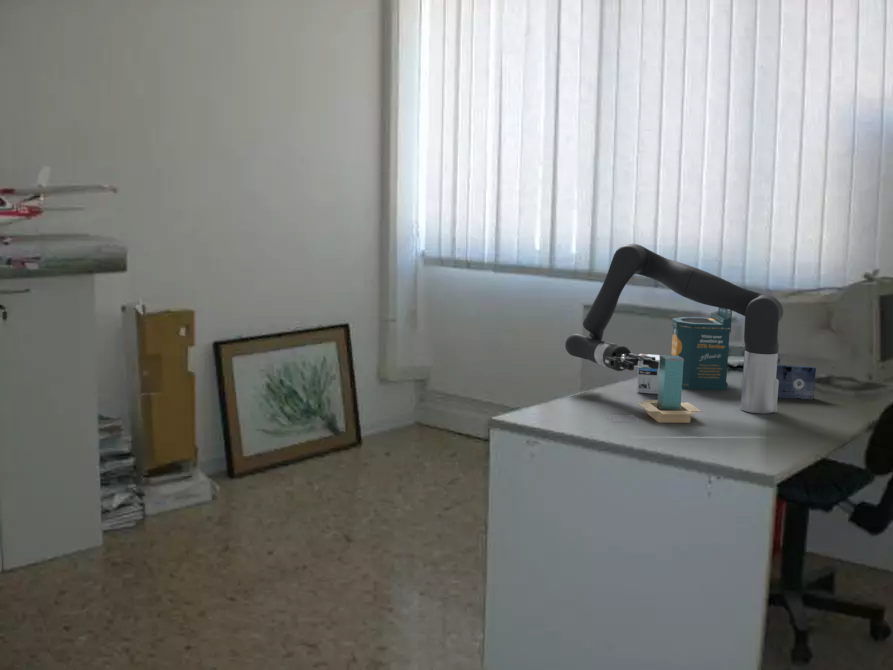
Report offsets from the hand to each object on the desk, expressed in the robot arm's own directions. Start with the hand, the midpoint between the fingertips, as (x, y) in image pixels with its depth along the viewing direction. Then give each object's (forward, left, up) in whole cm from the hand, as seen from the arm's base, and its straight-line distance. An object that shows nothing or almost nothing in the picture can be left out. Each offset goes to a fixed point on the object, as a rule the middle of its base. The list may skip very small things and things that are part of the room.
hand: (645, 366), depth 291 cm
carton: (-4, +11, -13) cm, 17 cm away
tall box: (-4, +11, -12) cm, 17 cm away
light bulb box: (-10, -28, -13) cm, 33 cm away
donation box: (-29, -38, -13) cm, 50 cm away
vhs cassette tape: (-50, -19, -13) cm, 55 cm away
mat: (+9, +12, -13) cm, 20 cm away
